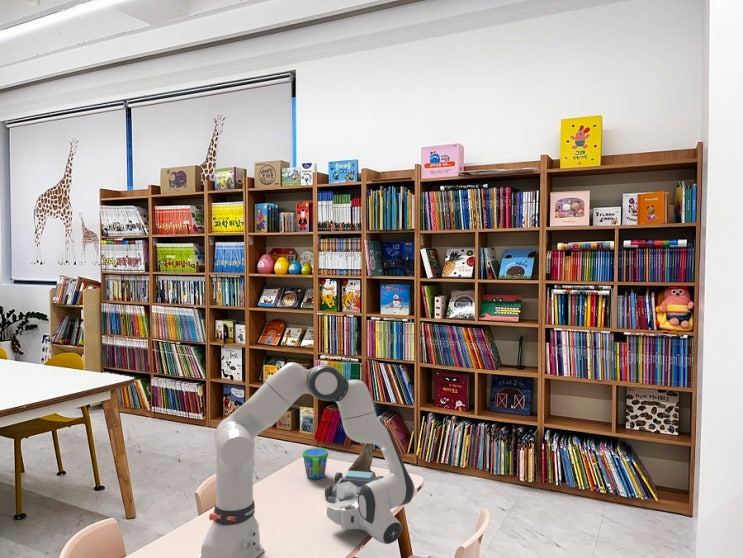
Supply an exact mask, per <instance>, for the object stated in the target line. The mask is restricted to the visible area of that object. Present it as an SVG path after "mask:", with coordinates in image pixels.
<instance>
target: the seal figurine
mask: <svg viewBox="0 0 743 558" xmlns="http://www.w3.org/2000/svg"><path fill="white" fill-rule="evenodd" d="M373 458H374V454H373V444H368V443H364V445H363V447H362V450H361V452H360V453H359V455H358V457H357V458H356V459H355V460H354V461H353V463H352V464H351V466H350V467H348V470H347V471H360V472H372V473H373V478H374V477H376V473H375V471H372V469H371V467H372V463H373Z"/></svg>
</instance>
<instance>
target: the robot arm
mask: <svg viewBox="0 0 743 558" xmlns="http://www.w3.org/2000/svg"><path fill="white" fill-rule="evenodd" d="M343 375H344V374H342V373H341V372H340V371H339V369H337V368H336V367H335V366H333V365H332V364H331V365H330V364H325V363H324V364H319V365H317V366H314V367H312V368H308V369H306V368H305V367H304V366H303V365H301V364H300V363H297V362H294V361H292V362H287V363H285V364H284V365H282V367H281V368H279V369H278V370H277V371H275V372H274V373H272V375H271V376H270V377H269V378H268V379H266V381H265V382H264V383H263V384H262V385H261V386H260V387H259V388H258V389H257V390H256V391H255V392H254V394H252V395H251V397H249V399H248V400H246V401H245V402H244V403H243V404H242V405H240V406H239V407H237V408H236V409H235V410H234V411H233V412H232V413H230V414H229V415H228V416H227V417H226V418H224V419H222V420H221V421H220V422H219V424H217V426H216V430H215V431H214V440H215V448H216V450H215V451H216V471H215V472H216V475H215V476H216V479H215V489H216V490H215V492H216V493H215V497H216V498H215V499H216V500H215V502H216V503H215V504H214V509H213V512H211V513H209V516H208V520H209V521H212V522H211V523H210V527H209V528H208V531H207V533H206V535H205V537H204V539H203V542H202V544H201V549H200V550H201V551H200V553H199V554H198V556H197V558H257V557H259V556H260V555H261V554H262V553H263V552H265V547H264V546H263V545H262V544H261V536H260V526H259V525H260V524H259V522H258V520H257V519H256V517H255V508H256V504H255V500H254V467H255V453H256V452H255V449H256V448H255V446H256V445H255V440H254V439H255V438H256V437H257V436H258V435H260V434H261V433H262V432H263V431H265V430H266V429H268V428H269V427H272V426H274V425H275V424H276V423H277V421H278V420H280V418H281V417H282V416H283V415H284V414H285V413H286V412H287V411H288V410H289V409H290V407H292V405H293V404H294V403H295V402H296V401H297V400H298V399H299V398H300V397H301V396H303V395H305V394H308V393H309V394H311V396H313V397H314V398H315V399H318V400H320V401H325V402H335V403H336V404H337V406H338V410H339V414H340V419H341V422H342V423H341V424H342V427H343V430H344V433H345V435H346V436H347V437H348V438H349V439H351V440H352V441H353V442H356V443H360V444H366V443H368V444H372V445H375V446H377V447H378V448H379V449H380V450H381V453H382V456H383V457H384V458H383V459H384V460H385V463H386V465H387V467H388V469H389V471H388V472H389V473H388V475H385V476H383V478H381V479H378V480H377V479H374V480H375V481H372V482H370V483H367V484H365V485H363V486H362V487H361V489H360V491H359V495H357V494H356V498H353V499H349V500H345V501H341V499H340V498H337V499H335V502H333V503H331V504H328V505H327V506H326V516H327V518H328V519H329V520H330V521H332V522H333V523H335V524H336V525H340V526H341V529H342V530H345V531H346V530H347V531H348V530H362V531H364V532H367V533H368V535H369V536H370V537H372V538H373V539H375V540H376V541H377V542H379V543H382V544H384V545H389V544H392V543H394V542H396V541H397V540H398V539H399V538H400V536H401V535H402V532H403V525H402V524H401V522H400V521H399V519H397V517H395V516H394V515H393V512H392V509H395V508H397V507H401V506H404V505H407V504H410V503H411V502H412V499H413V497H414V494H415V485H414V482H413V480H412V478H411V476H410V474H409V472H408V471H407V469H406V467H405V463H404V461H403V458H402V456H401V453H400V451H399V449H398V446H397V444H396V441H395V439H394V437H393V434H392V432H391V430H390V429H389V427H388V426H387V425H386V424H385V423H382V422H381V421H380V420H379V418H378V416H377V413H376V410H375V405H374V403H373V399H372V396H371V394H370V391H369V388H368V386H367V385H366V383H365V382H364V381H362V380H360V379H348V380H347V379H346V377H345V376H343Z"/></svg>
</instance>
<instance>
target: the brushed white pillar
mask: <svg viewBox="0 0 743 558" xmlns="http://www.w3.org/2000/svg"><path fill="white" fill-rule="evenodd" d="M337 498H340V499H341V501H345V500H349V499H353V498H356V486H355V485H354V484H352V483H351V482H349V481H348V482H344V483H340V484H337Z"/></svg>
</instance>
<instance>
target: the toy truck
mask: <svg viewBox="0 0 743 558" xmlns="http://www.w3.org/2000/svg"><path fill="white" fill-rule="evenodd" d="M347 471H348V470H347ZM383 477H384V476H383V475H378V476H377V478H376V479H374V477H373V473H372V472H360V471H348V472H347V473H346V474H345V476H343V473H342V472H337V471H336V472H335V474H334V484H335V485H334V486H333V485H330V484H329V485H328V484H327V485H326V486H325V489H324V497H325V498H327V502H329V503H335V499H337V484H340V483H344V482H348V481H349V482H351V483H352V484H354V485H355V486H356V494H357V495H359V491H360V489H361V487H362V486H363V485H365V484H367V483H370V482H372V481H375V480H378V479H381V478H383Z"/></svg>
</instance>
